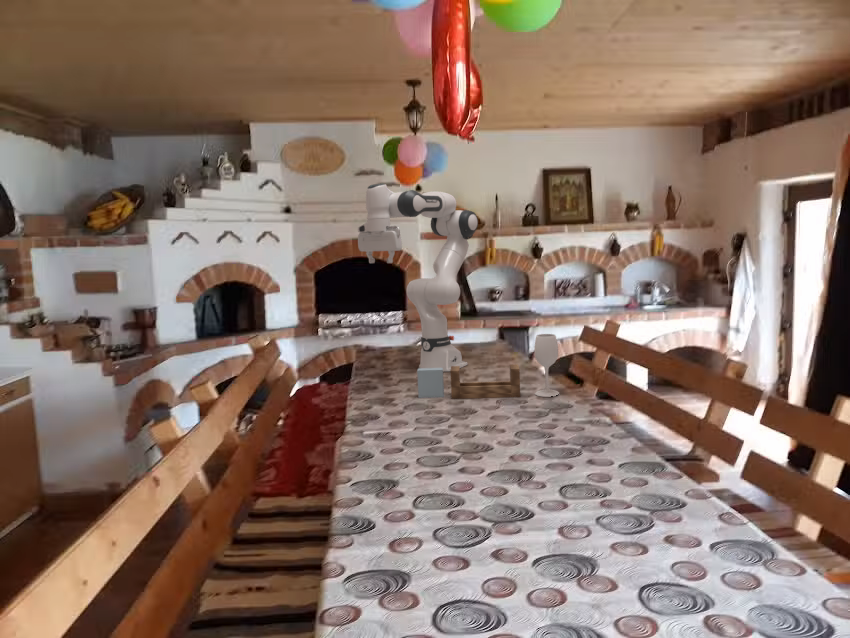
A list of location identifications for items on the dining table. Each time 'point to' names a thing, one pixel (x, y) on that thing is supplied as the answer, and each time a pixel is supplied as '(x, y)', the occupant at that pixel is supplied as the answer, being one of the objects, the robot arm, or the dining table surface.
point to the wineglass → (546, 358)
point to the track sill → (485, 386)
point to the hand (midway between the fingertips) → (380, 263)
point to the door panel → (430, 382)
